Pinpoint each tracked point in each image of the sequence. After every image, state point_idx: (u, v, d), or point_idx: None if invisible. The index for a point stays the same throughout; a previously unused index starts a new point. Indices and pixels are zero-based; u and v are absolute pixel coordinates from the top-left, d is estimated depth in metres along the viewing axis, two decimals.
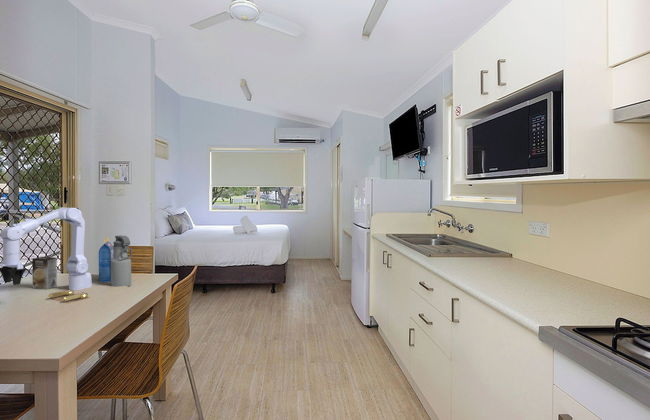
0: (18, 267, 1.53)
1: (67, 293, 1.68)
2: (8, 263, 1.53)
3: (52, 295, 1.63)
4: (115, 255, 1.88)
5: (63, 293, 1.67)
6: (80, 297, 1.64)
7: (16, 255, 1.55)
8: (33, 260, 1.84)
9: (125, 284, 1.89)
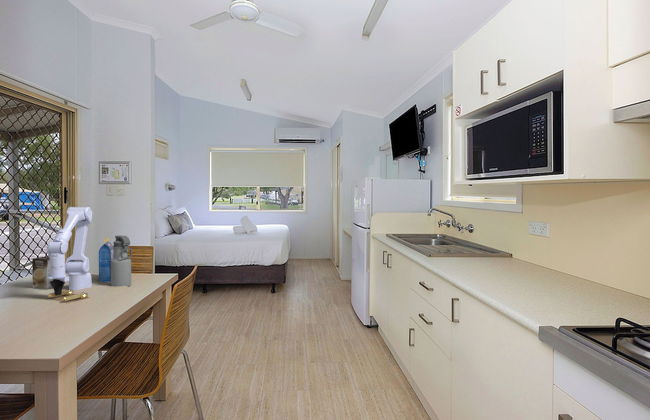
0: (65, 280, 1.61)
1: (67, 293, 1.68)
2: (55, 276, 1.62)
3: (51, 295, 1.63)
4: (115, 255, 1.88)
5: (63, 293, 1.67)
6: (80, 297, 1.64)
7: (62, 268, 1.64)
8: (33, 260, 1.84)
9: (125, 284, 1.89)
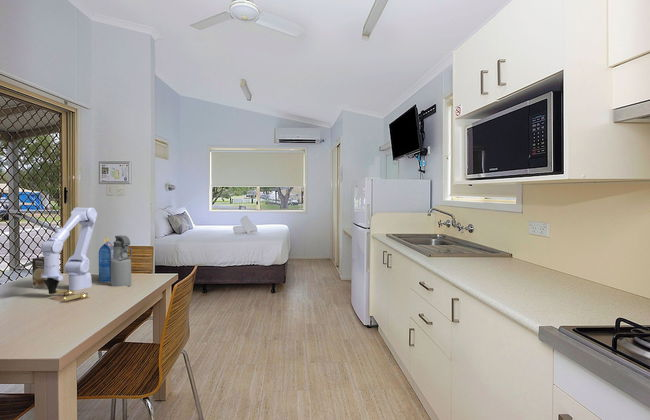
0: (59, 278, 1.63)
1: (64, 293, 1.69)
2: (49, 275, 1.64)
3: None
4: (115, 255, 1.88)
5: (61, 292, 1.69)
6: (80, 297, 1.64)
7: (56, 267, 1.66)
8: (33, 260, 1.84)
9: (125, 284, 1.89)
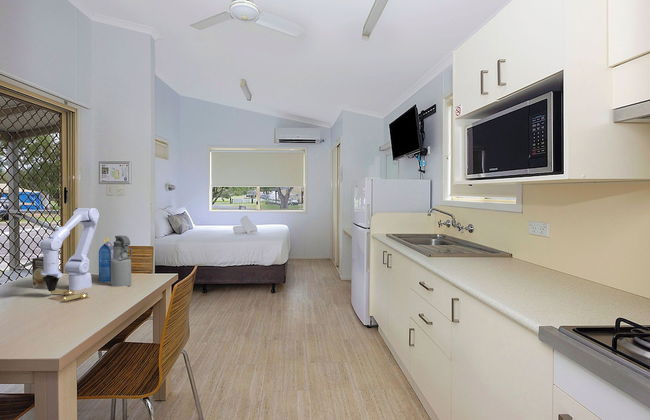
0: (58, 276, 1.64)
1: (64, 293, 1.69)
2: (48, 272, 1.65)
3: (52, 291, 1.69)
4: (115, 255, 1.88)
5: (61, 292, 1.69)
6: (80, 297, 1.64)
7: (55, 264, 1.67)
8: (33, 260, 1.84)
9: (125, 284, 1.89)
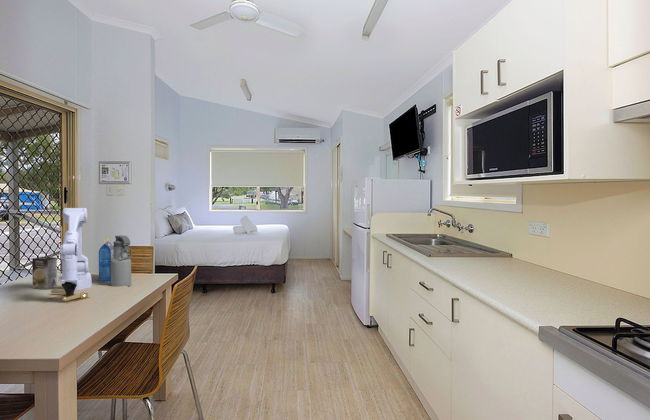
0: (77, 282, 1.57)
1: (64, 293, 1.69)
2: (67, 278, 1.58)
3: (52, 291, 1.69)
4: (115, 255, 1.88)
5: (61, 292, 1.69)
6: (80, 297, 1.64)
7: (74, 270, 1.60)
8: (33, 260, 1.84)
9: (125, 284, 1.89)
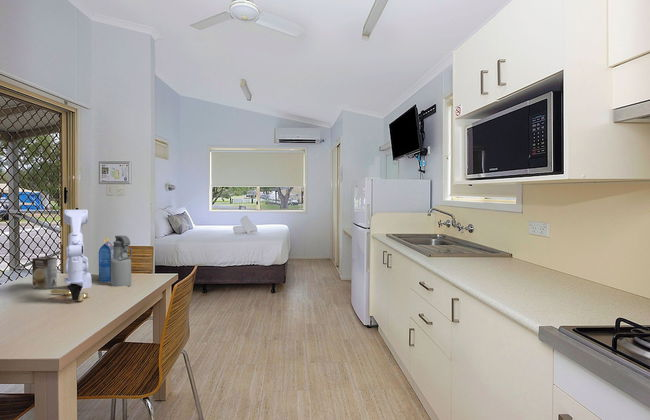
0: (83, 284, 1.56)
1: (64, 293, 1.69)
2: (73, 280, 1.57)
3: (52, 291, 1.69)
4: (115, 255, 1.88)
5: (61, 292, 1.69)
6: (84, 297, 1.65)
7: (80, 272, 1.58)
8: (33, 260, 1.84)
9: (125, 284, 1.89)
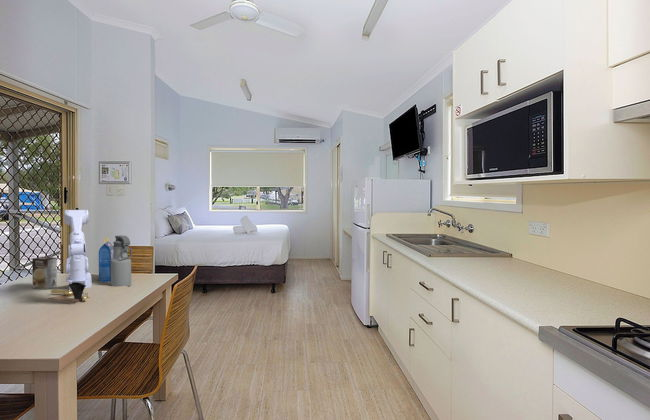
0: (85, 283, 1.55)
1: (64, 293, 1.69)
2: (75, 279, 1.56)
3: (52, 291, 1.69)
4: (115, 255, 1.88)
5: (61, 292, 1.69)
6: None
7: (82, 271, 1.58)
8: (33, 260, 1.84)
9: (125, 284, 1.89)
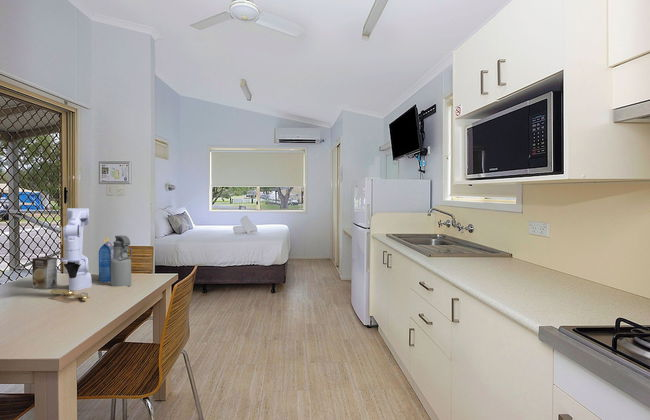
0: (80, 262, 1.63)
1: (64, 293, 1.69)
2: (70, 259, 1.64)
3: (52, 291, 1.69)
4: (115, 255, 1.88)
5: (61, 292, 1.69)
6: None
7: (77, 251, 1.66)
8: (33, 260, 1.84)
9: (125, 284, 1.89)
